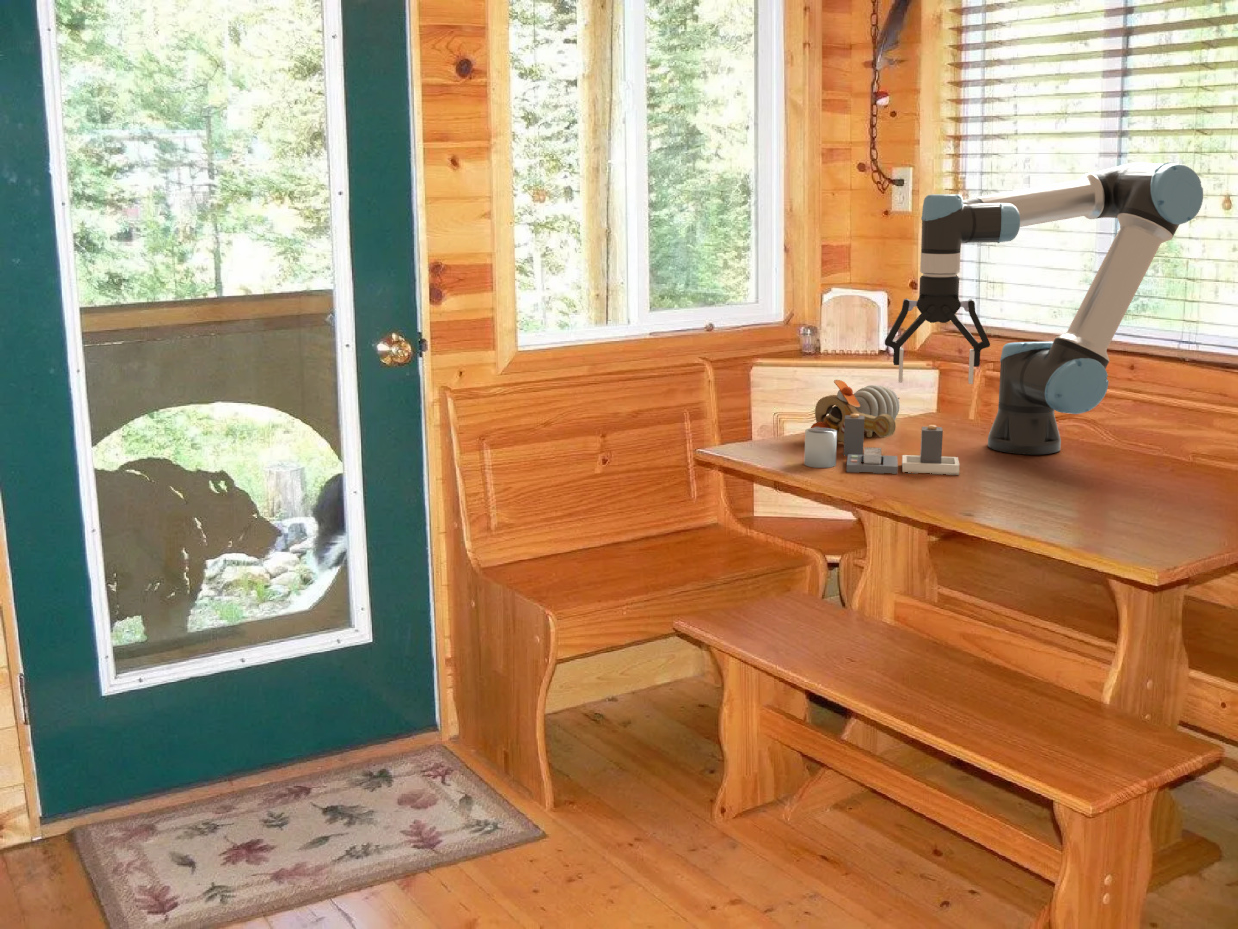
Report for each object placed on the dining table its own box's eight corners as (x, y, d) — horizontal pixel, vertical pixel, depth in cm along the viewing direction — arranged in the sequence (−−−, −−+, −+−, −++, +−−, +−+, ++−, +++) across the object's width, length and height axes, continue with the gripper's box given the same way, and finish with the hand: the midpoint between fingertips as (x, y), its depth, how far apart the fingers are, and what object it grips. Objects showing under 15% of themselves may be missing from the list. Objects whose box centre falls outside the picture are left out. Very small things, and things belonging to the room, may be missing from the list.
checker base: (897, 463, 290) (897, 454, 290) (897, 474, 281) (897, 465, 280) (847, 461, 292) (848, 452, 292) (846, 472, 282) (846, 463, 282)
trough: (957, 466, 287) (957, 457, 286) (959, 475, 280) (959, 465, 279) (902, 464, 289) (902, 455, 288) (902, 472, 282) (902, 463, 281)
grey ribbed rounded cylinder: (912, 432, 322) (914, 383, 319) (868, 442, 310) (870, 392, 308) (873, 425, 329) (875, 378, 327) (829, 435, 317) (831, 387, 315)
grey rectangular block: (880, 457, 289) (881, 447, 289) (880, 464, 282) (881, 455, 282) (864, 456, 290) (864, 447, 289) (863, 464, 283) (863, 454, 282)
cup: (836, 461, 292) (837, 427, 290) (835, 468, 285) (836, 434, 284) (805, 460, 293) (806, 426, 291) (803, 467, 287) (804, 432, 285)
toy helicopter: (828, 436, 316) (830, 376, 313) (904, 451, 301) (907, 387, 298) (804, 442, 311) (806, 380, 308) (880, 457, 296) (883, 392, 293)
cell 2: (940, 466, 286) (942, 424, 284) (940, 470, 282) (943, 428, 280) (919, 465, 286) (921, 423, 285) (920, 469, 283) (922, 427, 281)
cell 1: (863, 452, 300) (864, 413, 298) (862, 456, 296) (864, 416, 294) (844, 452, 301) (845, 412, 299) (843, 456, 297) (844, 415, 295)
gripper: (1004, 273, 277) (998, 380, 282) (874, 272, 281) (871, 377, 286) (1007, 276, 270) (1001, 386, 275) (874, 276, 274) (871, 384, 279)
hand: (935, 382), depth 280 cm, fingers open, 13 cm apart
